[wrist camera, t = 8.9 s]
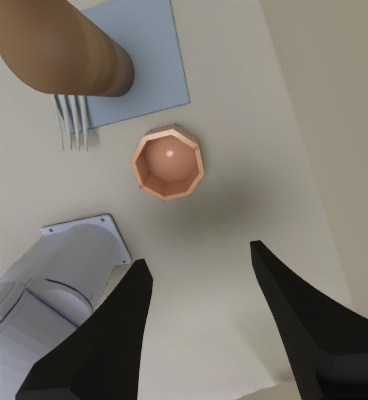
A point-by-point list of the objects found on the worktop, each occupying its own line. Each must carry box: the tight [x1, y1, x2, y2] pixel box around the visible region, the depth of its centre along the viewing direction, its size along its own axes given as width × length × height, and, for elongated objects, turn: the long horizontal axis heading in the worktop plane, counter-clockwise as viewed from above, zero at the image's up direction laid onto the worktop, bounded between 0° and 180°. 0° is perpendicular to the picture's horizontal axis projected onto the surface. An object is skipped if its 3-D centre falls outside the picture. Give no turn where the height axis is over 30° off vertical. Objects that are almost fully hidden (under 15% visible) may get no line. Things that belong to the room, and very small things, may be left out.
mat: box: [55, 0, 189, 133], centre depth 16 cm, size 12×8×1 cm, turn 103°
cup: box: [130, 124, 205, 201], centre depth 18 cm, size 6×6×4 cm
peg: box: [0, 0, 135, 97], centre depth 12 cm, size 4×4×9 cm
